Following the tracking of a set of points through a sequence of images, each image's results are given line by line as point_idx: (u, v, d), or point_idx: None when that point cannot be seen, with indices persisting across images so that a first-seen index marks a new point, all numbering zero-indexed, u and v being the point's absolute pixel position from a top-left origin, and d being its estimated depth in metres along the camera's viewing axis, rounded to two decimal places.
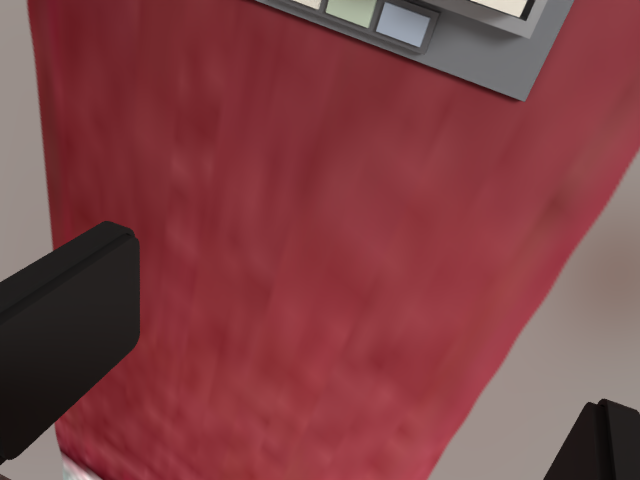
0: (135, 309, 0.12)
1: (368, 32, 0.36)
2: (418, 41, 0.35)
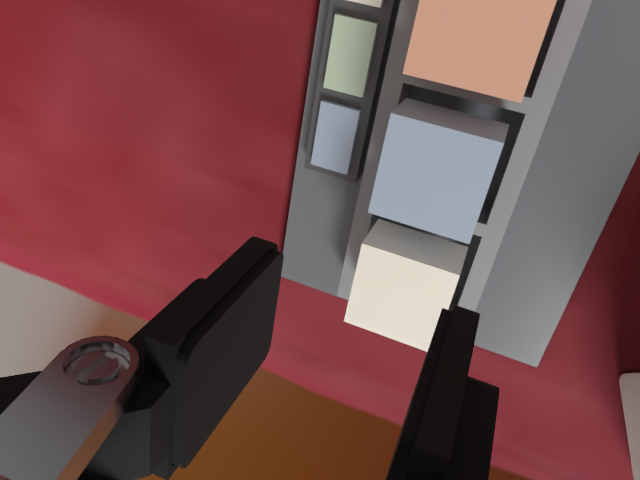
0: (272, 320, 0.13)
1: (318, 85, 0.25)
2: (317, 162, 0.26)
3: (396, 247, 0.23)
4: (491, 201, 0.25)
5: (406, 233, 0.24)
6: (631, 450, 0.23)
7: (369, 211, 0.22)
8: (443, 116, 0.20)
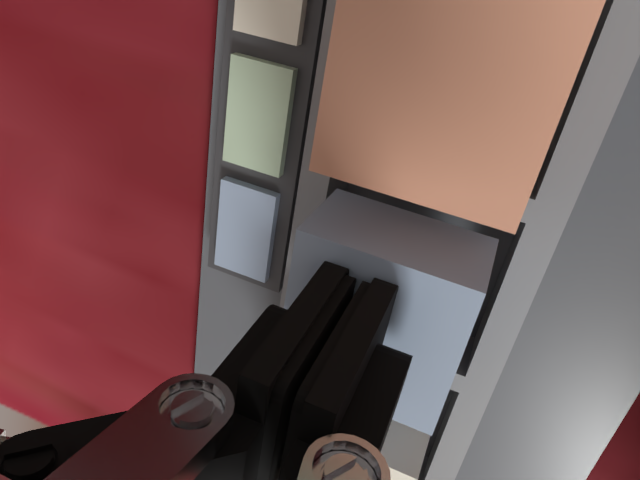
0: None
1: (218, 156, 0.16)
2: (223, 262, 0.18)
3: None
4: (475, 329, 0.17)
5: None
6: None
7: None
8: (389, 228, 0.12)
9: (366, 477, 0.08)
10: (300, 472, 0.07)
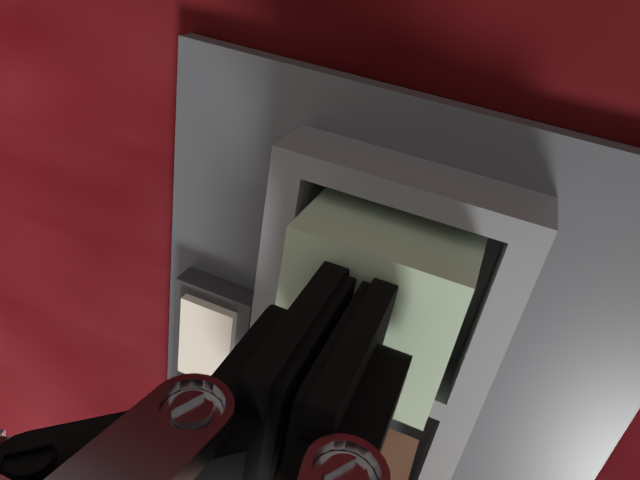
0: None
1: None
2: None
3: None
4: None
5: None
6: None
7: None
8: None
9: (366, 477, 0.08)
10: (300, 472, 0.07)
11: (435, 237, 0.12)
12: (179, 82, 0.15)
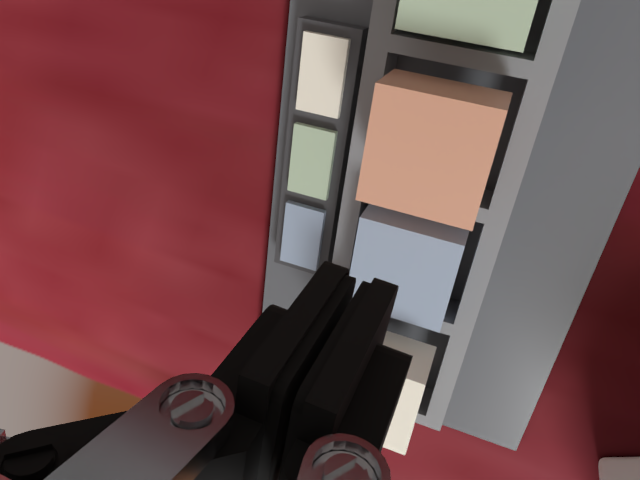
0: None
1: (283, 187, 0.25)
2: (286, 258, 0.26)
3: None
4: (460, 295, 0.25)
5: None
6: None
7: None
8: (410, 215, 0.22)
9: (366, 477, 0.08)
10: (300, 472, 0.07)
11: None
12: None
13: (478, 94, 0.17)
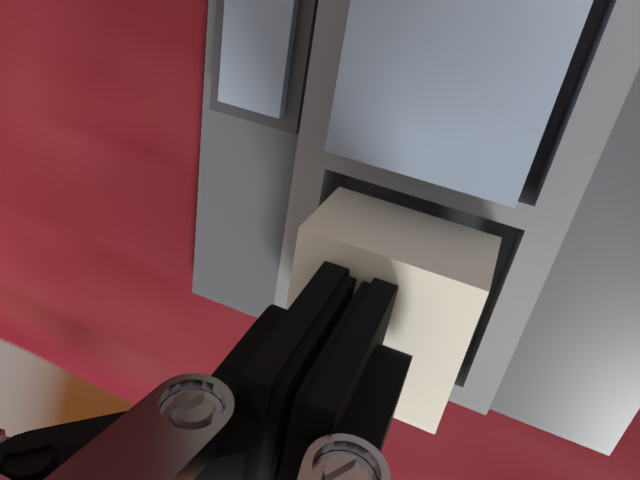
0: None
1: None
2: (228, 97, 0.15)
3: (365, 235, 0.12)
4: (540, 165, 0.13)
5: (387, 211, 0.13)
6: None
7: (327, 148, 0.12)
8: None
9: (366, 478, 0.08)
10: (300, 472, 0.07)
11: None
12: None
13: None
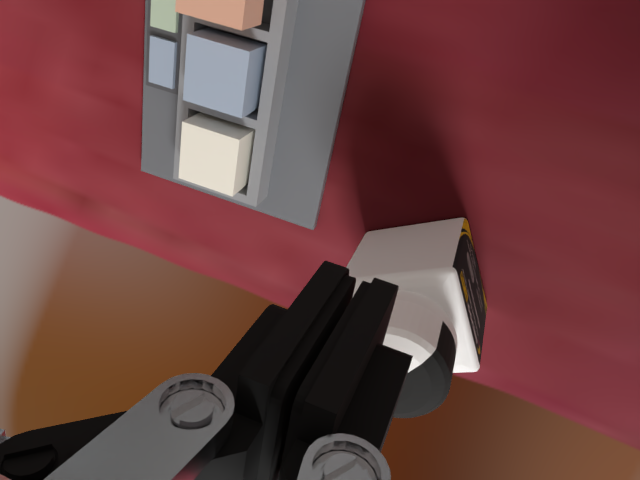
0: None
1: (148, 25, 0.36)
2: (152, 80, 0.37)
3: (204, 124, 0.35)
4: None
5: (216, 119, 0.37)
6: (346, 267, 0.35)
7: (183, 99, 0.34)
8: (223, 37, 0.33)
9: (367, 477, 0.08)
10: (300, 472, 0.07)
11: None
12: None
13: None
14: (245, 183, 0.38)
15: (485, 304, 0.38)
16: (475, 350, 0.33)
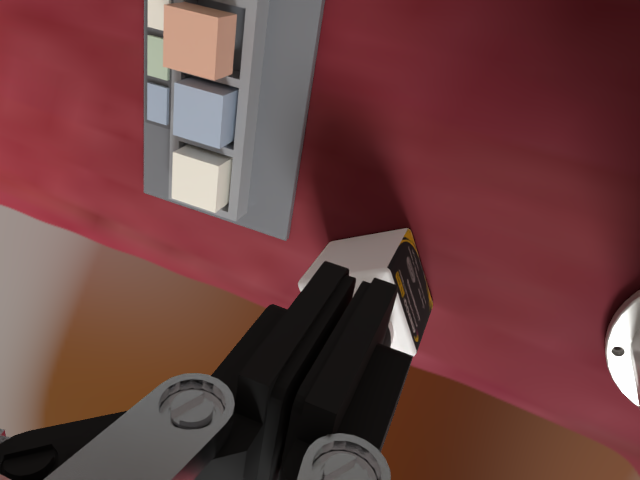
0: None
1: (146, 74, 0.44)
2: (150, 118, 0.45)
3: (191, 154, 0.43)
4: None
5: (202, 149, 0.44)
6: (307, 270, 0.42)
7: (173, 134, 0.42)
8: (204, 84, 0.41)
9: (366, 477, 0.08)
10: (300, 472, 0.07)
11: None
12: None
13: (214, 12, 0.37)
14: (227, 202, 0.46)
15: (430, 302, 0.44)
16: (411, 338, 0.39)
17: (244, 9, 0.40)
